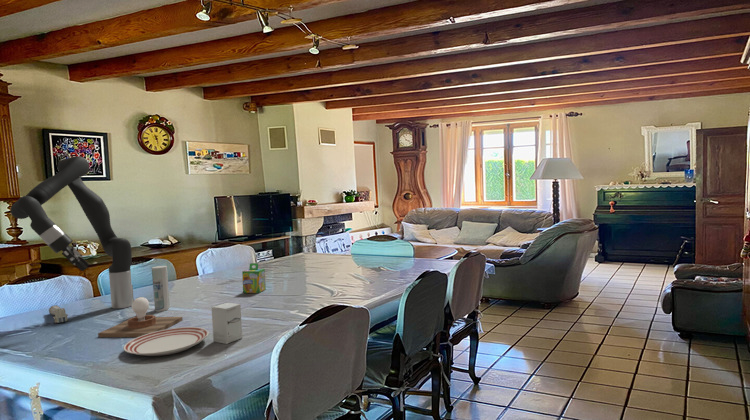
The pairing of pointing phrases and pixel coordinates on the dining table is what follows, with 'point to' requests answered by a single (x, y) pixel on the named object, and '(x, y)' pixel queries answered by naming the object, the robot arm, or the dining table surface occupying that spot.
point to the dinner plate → (166, 341)
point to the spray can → (160, 288)
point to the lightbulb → (140, 307)
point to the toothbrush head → (58, 314)
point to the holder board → (139, 331)
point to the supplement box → (226, 323)
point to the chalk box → (254, 279)
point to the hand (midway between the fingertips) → (86, 268)
